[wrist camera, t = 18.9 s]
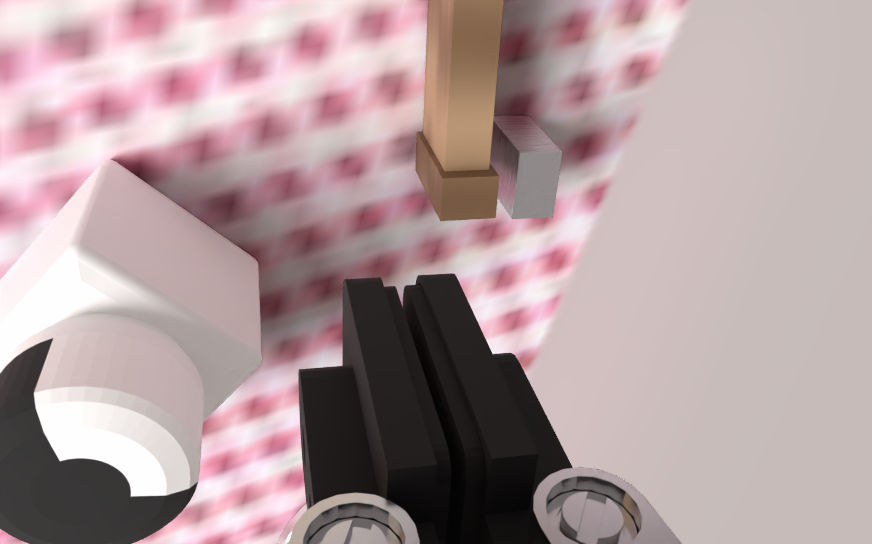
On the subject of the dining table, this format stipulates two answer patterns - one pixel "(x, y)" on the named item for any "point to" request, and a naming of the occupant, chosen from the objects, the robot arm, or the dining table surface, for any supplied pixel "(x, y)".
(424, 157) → the tan wooden plank
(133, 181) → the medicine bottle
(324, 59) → the dining table surface
